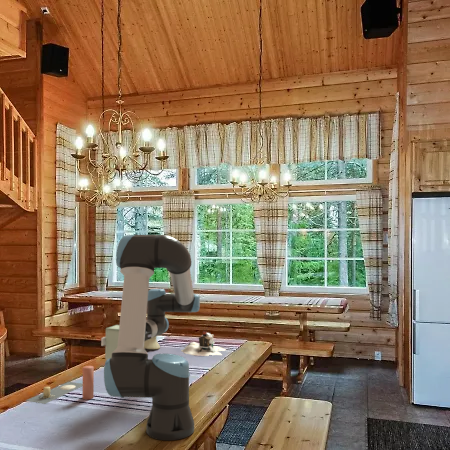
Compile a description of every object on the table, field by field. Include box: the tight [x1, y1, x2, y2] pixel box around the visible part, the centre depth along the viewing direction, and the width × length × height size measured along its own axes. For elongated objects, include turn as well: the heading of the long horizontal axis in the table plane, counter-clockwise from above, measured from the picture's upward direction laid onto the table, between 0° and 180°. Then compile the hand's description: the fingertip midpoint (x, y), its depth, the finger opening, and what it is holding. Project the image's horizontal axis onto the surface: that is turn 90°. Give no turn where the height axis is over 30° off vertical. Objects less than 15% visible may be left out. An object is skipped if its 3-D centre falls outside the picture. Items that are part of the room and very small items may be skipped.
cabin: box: [180, 328, 227, 357], centre depth 250 cm, size 40×40×13 cm
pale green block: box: [104, 324, 120, 360], centre depth 168 cm, size 7×7×11 cm
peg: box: [82, 365, 95, 401], centre depth 174 cm, size 4×4×12 cm
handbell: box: [144, 336, 161, 350], centre depth 255 cm, size 15×15×25 cm
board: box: [25, 381, 83, 405], centre depth 180 cm, size 24×9×4 cm, turn 160°
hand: (111, 342), depth 163 cm, fingers closed on pale green block, 7 cm apart
